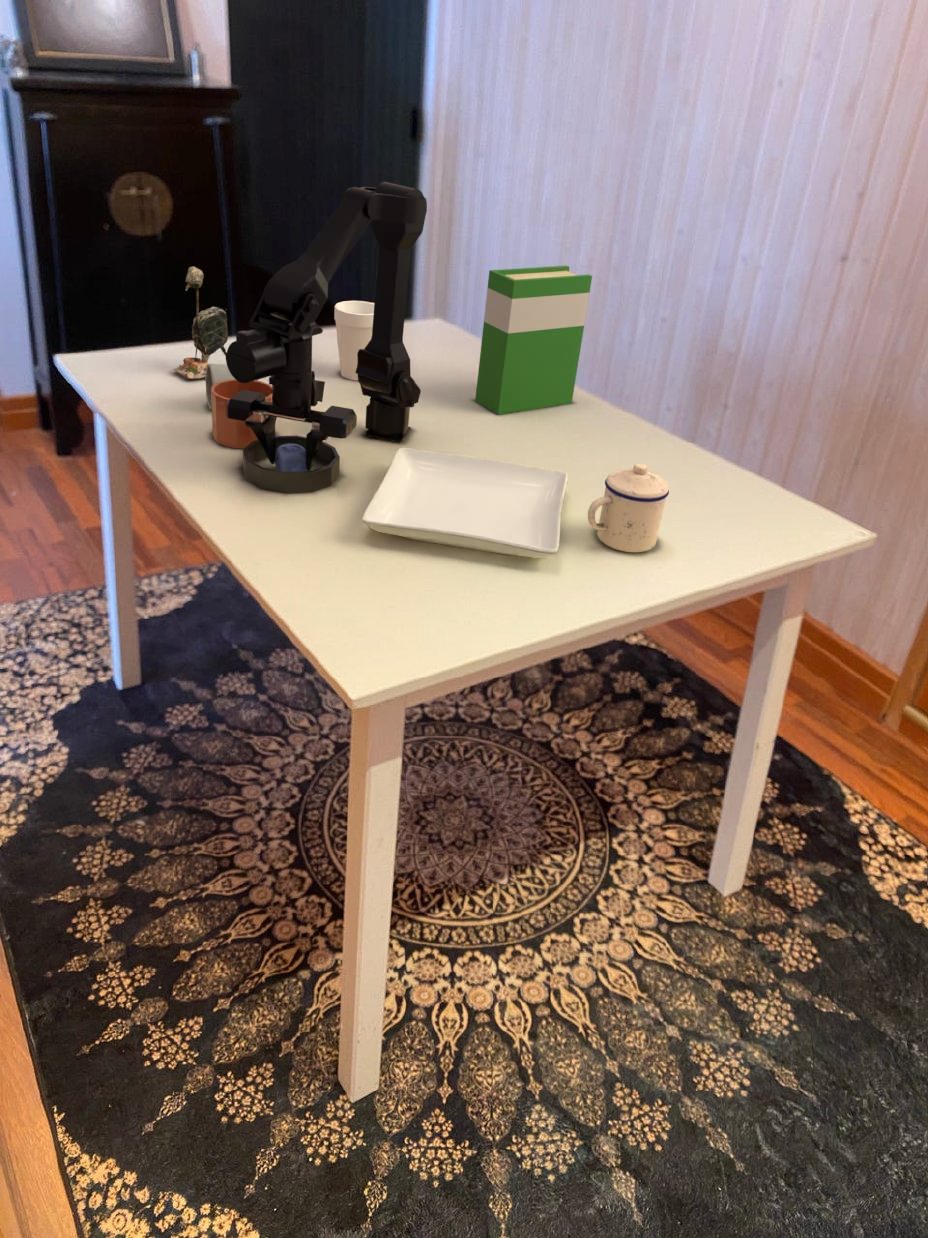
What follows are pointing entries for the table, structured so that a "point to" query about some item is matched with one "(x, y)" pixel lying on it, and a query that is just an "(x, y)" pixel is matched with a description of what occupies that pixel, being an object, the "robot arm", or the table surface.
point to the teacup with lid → (630, 509)
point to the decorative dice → (290, 458)
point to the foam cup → (352, 333)
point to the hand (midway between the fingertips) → (291, 466)
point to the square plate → (470, 503)
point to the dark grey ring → (290, 480)
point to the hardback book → (531, 338)
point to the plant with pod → (204, 331)
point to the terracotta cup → (231, 429)
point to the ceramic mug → (216, 378)
